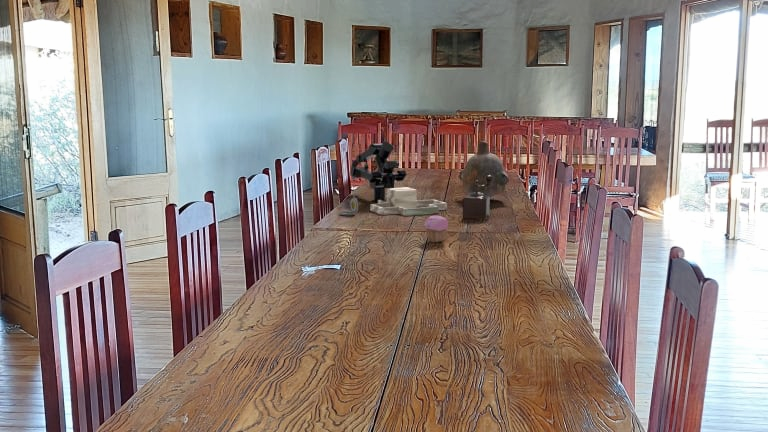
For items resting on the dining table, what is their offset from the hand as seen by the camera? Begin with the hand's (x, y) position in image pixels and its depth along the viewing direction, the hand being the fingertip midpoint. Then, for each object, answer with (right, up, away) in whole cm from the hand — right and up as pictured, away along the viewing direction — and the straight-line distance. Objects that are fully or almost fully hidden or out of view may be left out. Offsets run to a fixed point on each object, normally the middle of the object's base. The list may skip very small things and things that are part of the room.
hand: (393, 190), depth 367 cm
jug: (+45, -5, +18) cm, 49 cm away
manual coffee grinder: (+37, -13, -26) cm, 47 cm away
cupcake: (+15, -22, -79) cm, 83 cm away
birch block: (+4, -9, -6) cm, 11 cm away
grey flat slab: (+7, -9, -12) cm, 16 cm away
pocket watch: (-20, -12, -26) cm, 35 cm away
